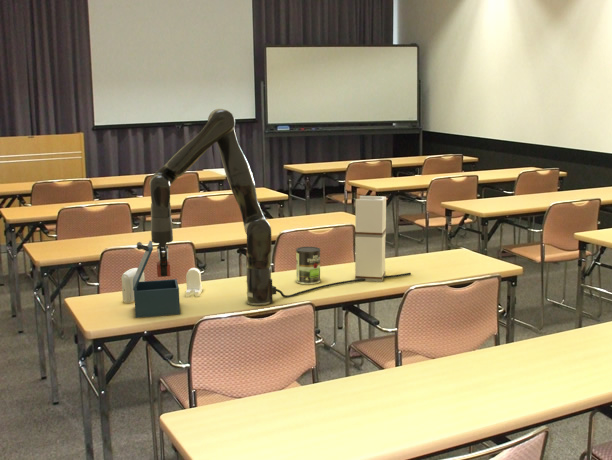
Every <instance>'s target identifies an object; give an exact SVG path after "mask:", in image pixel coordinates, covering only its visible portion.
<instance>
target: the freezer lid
mask: <svg viewBox="0 0 612 460" xmlns="http://www.w3.org/2000/svg"><path fill="white" fill-rule="evenodd" d="M136 249H137V250H138V251H141V250H143V251H144V253H143V255H142V257H141V260H140V262H139V265H138V267H137V268H138V269H137V271H136V274H135V276H134V278H133V290H134V291H135V290H136V287H137V285H138V283H139V280H140V278H141V276H142V273H143V271H145V269H146V267H147V264H148V261H149V260H150V257H151V255H152V253H153V250H154V246H153V242H152V240H149V242H148V243H147V245H144V244H143V243H142V242H140V241H138V242H137V243H136Z"/></svg>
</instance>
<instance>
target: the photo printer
mask: <svg viewBox="0 0 612 460" xmlns="http://www.w3.org/2000/svg"><path fill="white" fill-rule="evenodd" d="M137 269H138V267H133V268H130V269H128V270H126V271H125V272H124V273H122V275H121V278H120V279H121V291H122V292H121V293H122V302H123V303H124V304H131V303H135V301H134V290H133V278H134V276H135V274H136V271H137ZM144 271H145V270H144ZM144 271H143V273H142V276H141V278H140V280H139V282H142V281H146V279H145V272H144Z"/></svg>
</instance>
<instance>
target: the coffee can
mask: <svg viewBox="0 0 612 460" xmlns="http://www.w3.org/2000/svg"><path fill="white" fill-rule="evenodd" d="M295 259H296V260H295V262H296V269H295V270H296V281H295V282H296V283H297V284H301V285H315V284H319V283H321V248H320V247H317V246H301V247H297V248H296V249H295Z"/></svg>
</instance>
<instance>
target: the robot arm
mask: <svg viewBox="0 0 612 460" xmlns="http://www.w3.org/2000/svg"><path fill="white" fill-rule="evenodd" d="M235 126H236V119H235V116H234V114H233V113H232V112H231V111H229V110H227V109H224V108H216V109H214V110H212V111H211V112H210V113H209V115H208V117H207V122H206V124H205V125H204V126H203V128H202V129H201V131H199V133H198V134H197V135H195V136H194V137H193V138H192V139H191V140H189V141H188V142H187V143H186V144H185V145H183V146H182V147H181V148H180V149H179V150H178V151H176V152H175V154H174V155H173V156H172V157H171V158H170V159H169V160H168V161H167V162H166V163H165V164H164V165H163V166H161V167H160V168H159V169H158V170H157V171H156V172H155V173H153V175H152V176H151V177H150V178H149V181H148V183H149V191H150V201H151V203H150V235H151V237H150V238H151V241H152V244H158V245H157V246H156V251H157V257H158V262H160V267H161V276H162V277H161V278H163V276H166V277H168V276H167V265H168V263H167V262H168V260H169V245H167V243H172V242H173V240H174V235H173V234H174V233H173V218H172V206H171V185H172V184H173V183H174V182H175V181H176V180H177V179H178V178H180V177H182V176H183V175H184V174H185V173H186V172H187V171H188V170H190V169H191V167H192V166H193V165H195V164H196V163H197V161H198V160H199V159H200V158H201V157H202V156H203V155H204V154H205V153H206V151H208V150H209V149H210V148H211V147H212V146H214V145H215V143H216V144H217V147H218V150H219V154H220V159H221V162H222V163H221V164H222V166H223V169H224V173H225V176H226V179H227V182H228V185H229V188H230V190H231V193H232V195H233V197H234V199H235V201H236V203H237V205H238V208H239V210H240V215H241V219H242V222H243V228H244V232H245V235H246V253H245V265H246V266H245V267H246V304H248V305H249V306H258V307H259V306H266V305H269V304H270V305H271V304H273V303H274V299H273V298H274V297H273V295H277V293H278V294H280V295H281V297H283V298H293V297H296V296H299V295H302V294H305V293H309V292H312V291H315V290H319V289H323V288H329V287H332V286H338V285H343V284H349V283H356V282H357V283H358V282H366V281H365V280H366V279H356V280H355V279H350V280H342V281H338V282H332V283H328V284H327V283H326V284H324V285H319V286H316V287H311V288H308V289H304V290H301V291H297V292H295V293H293V294H284V293H283V291H282V290H280V289H278V288H277V287H276V286H275V285H273V278H272V260H271V259H272V257H271V256H272V227H271V224H270V223H269V222H268V220H267V219H266V218H265V215H264V213H263V211H262V209H261V206H260V203H259V201H258V196H257V195H258V194H257V189H256V183H255V179H254V175H253V173H252V170H251V167H250V164H249V162H248V159H247V158H246V156H245V154H244V152H243V150H242V147H241V146H240V144H239V142H238V139H237V134H236V132H235ZM162 262H163V263H162ZM410 275H412V273H411V272H405V273H399V274H392V275H385V276H383V278H384V279H391V278H399V277H405V276H410Z"/></svg>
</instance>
